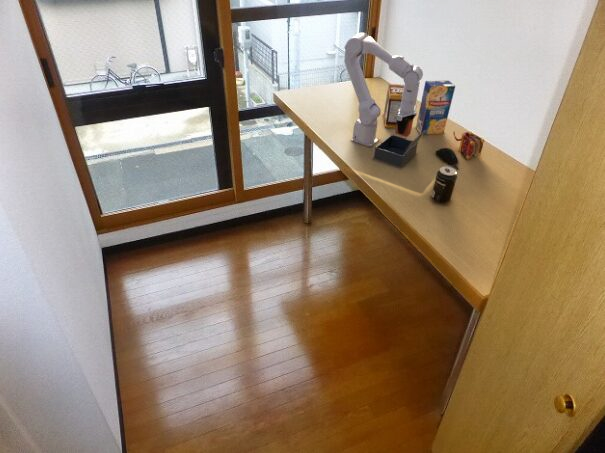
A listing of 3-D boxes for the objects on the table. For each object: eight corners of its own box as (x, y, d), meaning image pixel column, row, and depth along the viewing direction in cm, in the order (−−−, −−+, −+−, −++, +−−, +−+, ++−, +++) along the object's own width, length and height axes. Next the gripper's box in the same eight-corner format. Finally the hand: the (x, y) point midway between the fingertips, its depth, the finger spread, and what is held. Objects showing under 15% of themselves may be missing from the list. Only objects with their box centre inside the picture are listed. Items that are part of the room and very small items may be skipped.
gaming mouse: (450, 170, 170) (453, 161, 167) (432, 152, 181) (434, 144, 179) (464, 168, 171) (467, 159, 169) (446, 151, 182) (448, 142, 180)
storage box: (389, 145, 185) (391, 134, 181) (415, 154, 179) (417, 142, 176) (373, 159, 175) (375, 147, 172) (400, 168, 170) (402, 156, 166)
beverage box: (443, 133, 196) (455, 86, 182) (420, 134, 194) (431, 86, 181) (437, 127, 201) (449, 80, 188) (415, 127, 200) (425, 81, 186)
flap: (425, 129, 171) (425, 130, 171) (417, 140, 176) (418, 141, 176) (410, 143, 162) (410, 143, 162) (402, 154, 166) (403, 155, 166)
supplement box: (404, 115, 210) (410, 84, 201) (407, 129, 198) (413, 96, 189) (383, 114, 211) (388, 83, 201) (385, 127, 199) (390, 95, 189)
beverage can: (446, 194, 156) (454, 165, 148) (452, 205, 150) (461, 176, 143) (428, 194, 155) (435, 165, 148) (433, 205, 150) (441, 176, 143)
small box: (395, 133, 177) (397, 120, 174) (399, 130, 180) (401, 117, 176) (406, 137, 175) (408, 123, 171) (410, 133, 178) (413, 120, 174)
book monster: (482, 157, 178) (455, 161, 176) (471, 148, 185) (445, 151, 183) (487, 134, 172) (460, 137, 170) (476, 125, 179) (449, 128, 177)
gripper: (410, 107, 162) (404, 140, 170) (425, 96, 171) (419, 128, 180) (393, 103, 165) (388, 135, 173) (409, 92, 174) (403, 123, 183)
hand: (403, 131), depth 177 cm, fingers closed on small box, 4 cm apart
